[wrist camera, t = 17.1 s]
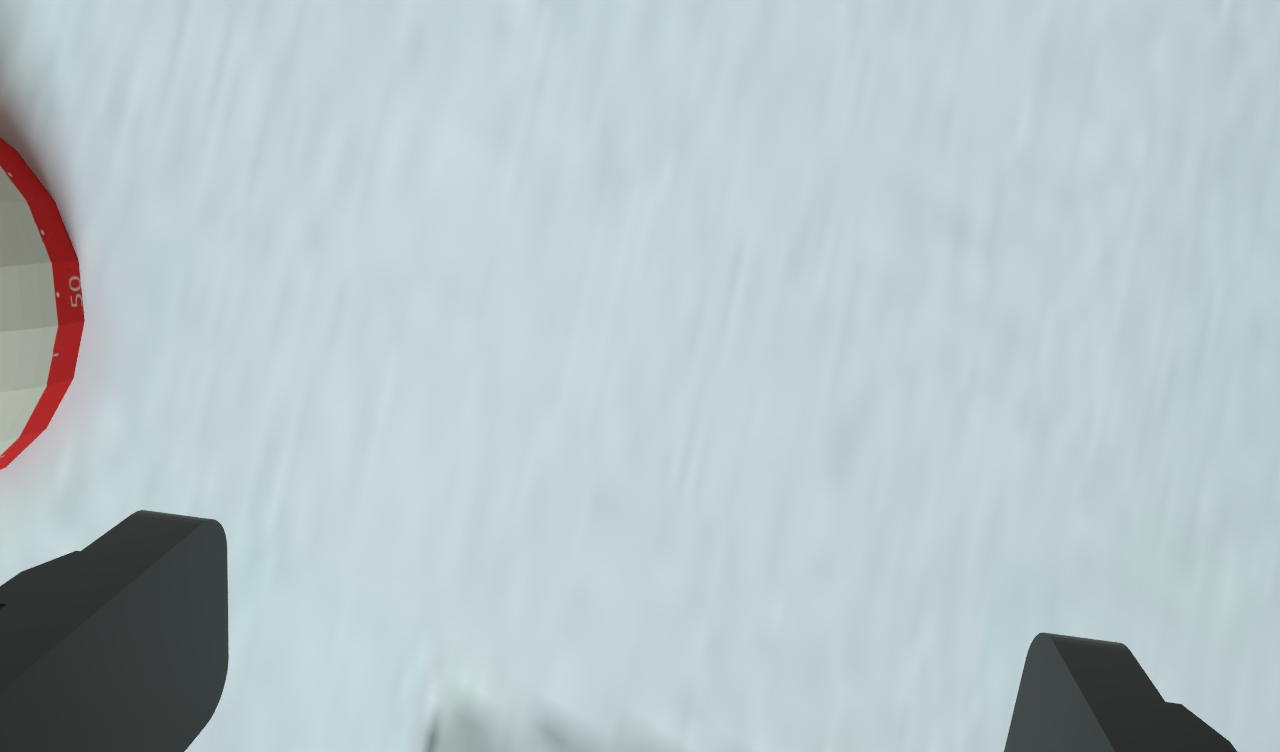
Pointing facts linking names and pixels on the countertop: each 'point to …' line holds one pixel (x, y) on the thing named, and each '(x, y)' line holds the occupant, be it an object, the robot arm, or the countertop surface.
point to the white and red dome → (33, 306)
